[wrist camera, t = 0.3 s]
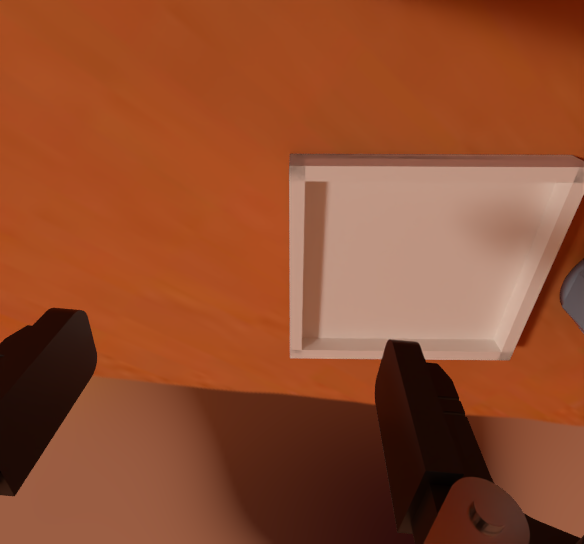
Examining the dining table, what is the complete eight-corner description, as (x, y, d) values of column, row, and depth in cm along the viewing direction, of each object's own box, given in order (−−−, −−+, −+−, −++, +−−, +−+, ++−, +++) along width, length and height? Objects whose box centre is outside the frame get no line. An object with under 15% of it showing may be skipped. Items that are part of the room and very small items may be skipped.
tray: (289, 153, 26) (289, 166, 24) (572, 155, 26) (595, 167, 24) (290, 338, 36) (289, 358, 34) (497, 339, 35) (509, 360, 33)
